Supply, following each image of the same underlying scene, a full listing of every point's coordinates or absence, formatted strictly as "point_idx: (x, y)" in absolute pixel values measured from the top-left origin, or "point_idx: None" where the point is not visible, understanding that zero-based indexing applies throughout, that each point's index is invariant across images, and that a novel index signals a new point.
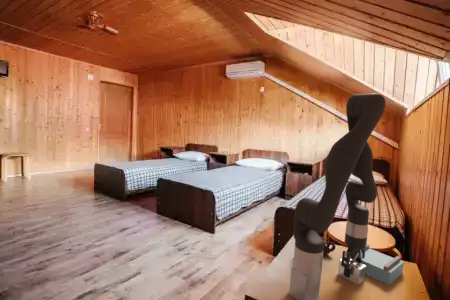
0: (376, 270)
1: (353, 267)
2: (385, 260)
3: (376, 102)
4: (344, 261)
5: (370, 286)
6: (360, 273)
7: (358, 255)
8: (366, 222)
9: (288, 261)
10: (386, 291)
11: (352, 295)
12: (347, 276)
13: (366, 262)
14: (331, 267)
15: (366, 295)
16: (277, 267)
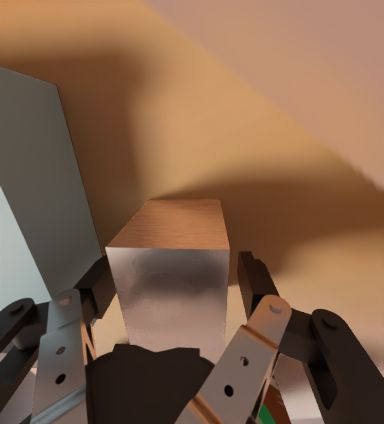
0: (33, 181)
1: (225, 289)
2: None
3: None
4: (211, 351)
5: (178, 151)
6: (212, 228)
7: (100, 380)
8: None
9: (292, 401)
10: (138, 60)
11: (360, 171)
12: (260, 260)
13: (36, 263)
14: None
15: (296, 121)
16: None
